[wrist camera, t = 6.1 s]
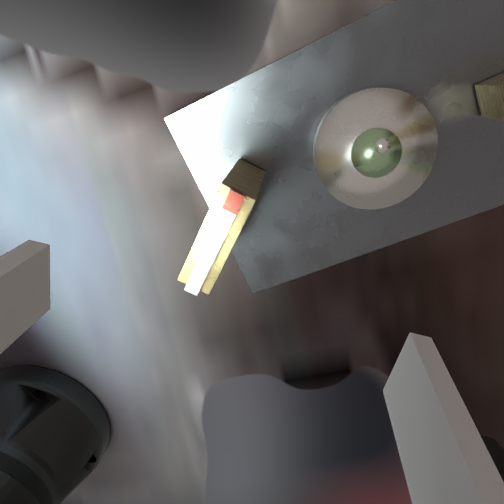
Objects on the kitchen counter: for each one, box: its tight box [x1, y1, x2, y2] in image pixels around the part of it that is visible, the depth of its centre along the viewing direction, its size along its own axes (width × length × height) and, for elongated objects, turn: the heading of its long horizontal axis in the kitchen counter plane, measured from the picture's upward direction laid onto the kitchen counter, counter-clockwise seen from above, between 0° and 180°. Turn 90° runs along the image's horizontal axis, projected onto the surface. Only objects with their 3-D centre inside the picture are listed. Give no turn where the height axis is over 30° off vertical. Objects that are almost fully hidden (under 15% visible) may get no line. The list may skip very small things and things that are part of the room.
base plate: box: [164, 0, 504, 294], centre depth 28 cm, size 26×16×4 cm, turn 115°
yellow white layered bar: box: [178, 159, 265, 296], centre depth 27 cm, size 7×2×9 cm, turn 155°
